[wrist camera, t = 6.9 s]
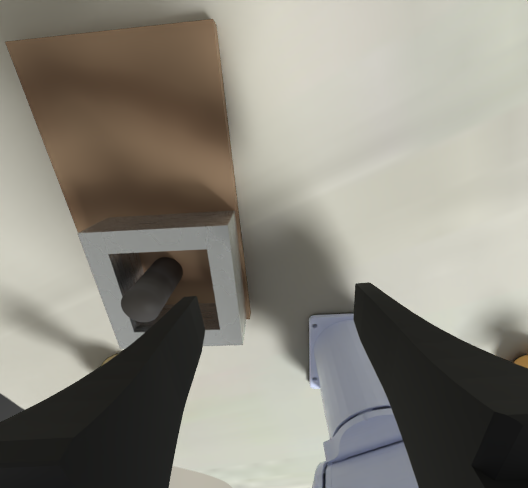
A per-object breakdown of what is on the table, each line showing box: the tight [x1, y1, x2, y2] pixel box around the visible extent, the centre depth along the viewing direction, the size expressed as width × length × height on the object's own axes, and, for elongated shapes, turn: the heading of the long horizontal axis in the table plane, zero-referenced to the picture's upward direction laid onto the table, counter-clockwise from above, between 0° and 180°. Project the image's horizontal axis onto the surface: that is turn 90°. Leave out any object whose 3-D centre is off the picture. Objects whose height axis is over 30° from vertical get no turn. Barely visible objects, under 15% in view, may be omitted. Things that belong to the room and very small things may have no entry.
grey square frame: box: [78, 210, 247, 349], centre depth 20 cm, size 10×10×4 cm
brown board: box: [5, 19, 251, 322], centre depth 18 cm, size 22×13×6 cm, turn 4°
